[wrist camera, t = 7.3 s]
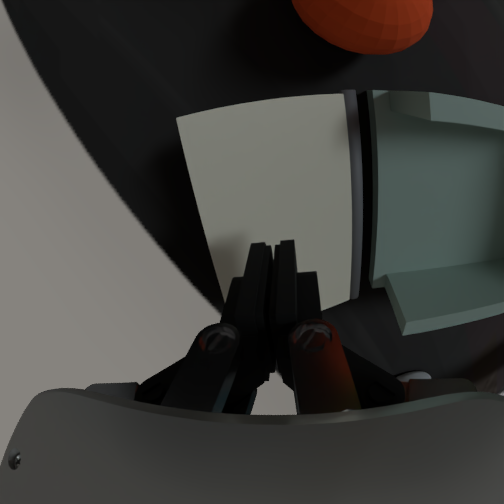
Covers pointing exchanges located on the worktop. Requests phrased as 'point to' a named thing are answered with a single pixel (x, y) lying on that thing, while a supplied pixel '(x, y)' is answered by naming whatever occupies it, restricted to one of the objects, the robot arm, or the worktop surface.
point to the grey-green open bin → (437, 207)
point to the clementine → (367, 23)
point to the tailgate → (281, 185)
